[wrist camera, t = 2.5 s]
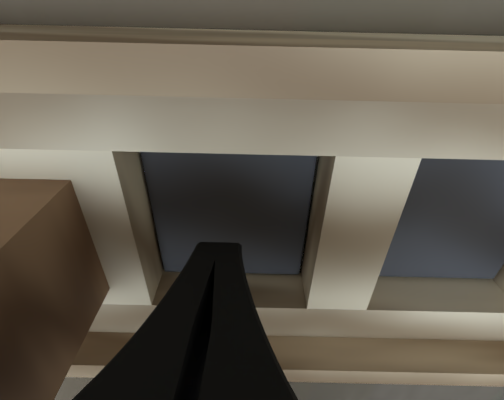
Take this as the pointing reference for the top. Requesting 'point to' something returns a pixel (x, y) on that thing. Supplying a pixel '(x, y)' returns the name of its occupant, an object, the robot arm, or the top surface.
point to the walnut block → (44, 285)
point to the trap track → (282, 184)
